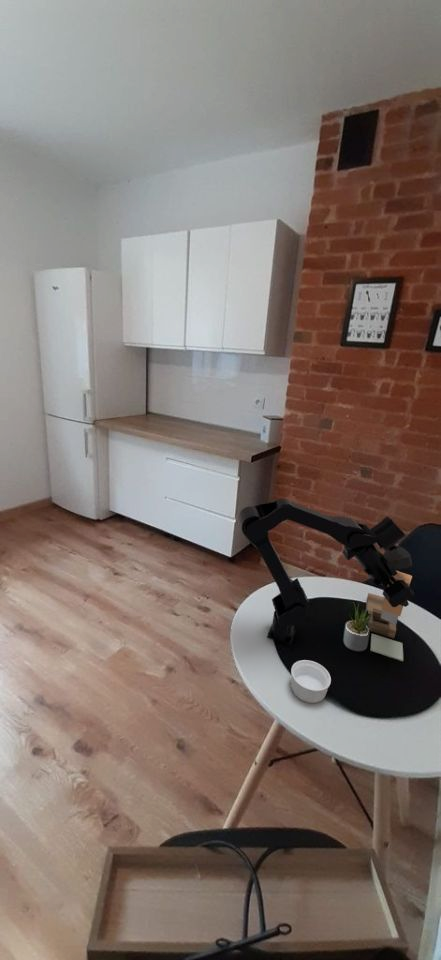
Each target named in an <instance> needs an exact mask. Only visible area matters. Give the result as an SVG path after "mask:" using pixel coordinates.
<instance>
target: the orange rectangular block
mask: <svg viewBox="0 0 441 960" xmlns="http://www.w3.org/2000/svg"><path fill="white" fill-rule="evenodd" d="M396 572H397V573H398V574H396V575H395V576H393V575H392V576H393V577H394V578H395V579H396V581H397V580H404V581H405V582H406V584H407V585H408V586H409V587H410V584H411V581H412V579H413V576H412V575H411V574H408V573H404V572H402V571H399V570H396ZM390 581H391V580H390ZM391 582H392V581H391ZM392 583H393V582H392ZM387 587H389V585H388V586H387ZM383 597H384V596H383ZM381 609H383V611H382V614H381V619H384V620H386V621H389V622H391V623H394V624H396V625H397V624H398V619H399V617H401V615H402V612H403V609H404V606H402V605H398V606H397V607H392V606H391V605H390V603H389V602H388V601H387V599H386V598H385V597H384V601H383V604H382V608H381Z"/></svg>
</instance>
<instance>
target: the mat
mask: <svg viewBox="0 0 441 960" xmlns="http://www.w3.org/2000/svg"><path fill="white" fill-rule="evenodd" d="M370 652H374V653H377V654H380V655H383V656H386V657H388V658H391V659H395V660H398V661H400V662H404V648H403V642H400V641H397V640H394V639H390V638H389V637H386V636H381V635H379V634H374V633H371V636H370Z"/></svg>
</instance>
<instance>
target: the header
mask: <svg viewBox="0 0 441 960" xmlns="http://www.w3.org/2000/svg"><path fill="white" fill-rule="evenodd" d="M383 601H384V596H381V595H378V594H374V593H370V592H368V593H367V596H366V604H365V610H366V609H367V611H368V614H371V617H370V620H369V622H368V626H369V629H370V632H372V633H376V634H377V635H380V636H381V635H382V636H384V637H387V638H392V639H395V636H396V634H397V623H396V624H394V623H391V622H389V621H386V620H384V619H381V614H382V611H383V609H381V608H382V604H383Z"/></svg>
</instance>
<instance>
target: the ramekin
mask: <svg viewBox="0 0 441 960" xmlns="http://www.w3.org/2000/svg"><path fill="white" fill-rule="evenodd" d="M290 669H291V670H290V675H291V677H290V686H291V690H292V692H293V693H294V695H295V696H296V697H297V698H299V699H300V700H302V701H304V702H306V703H311V704H315V703H319V702H321V701H323V700H324V699H325V697H326V695H327V692H328V690H329V688H330V685H331V683H332V678H331V675H330V672H329V671H328V670H327V669H326V667H324V666H323V665H322V664H320V663H318V662H316V661H313V660H307V659H303V660H297V661H296V662H294V663H293V664H292V665H291V668H290Z"/></svg>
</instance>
